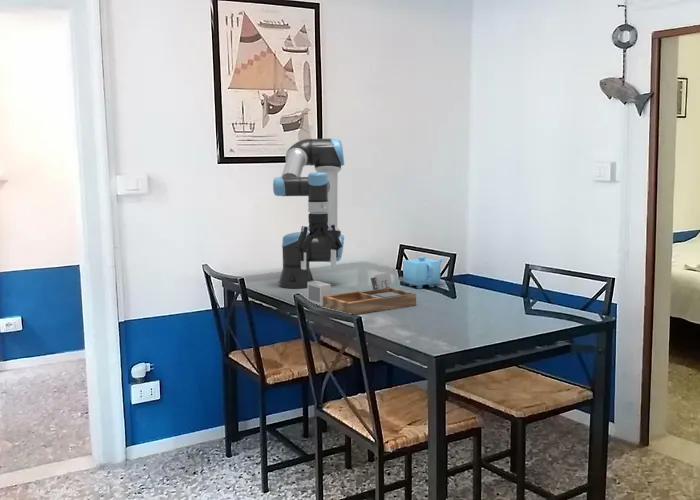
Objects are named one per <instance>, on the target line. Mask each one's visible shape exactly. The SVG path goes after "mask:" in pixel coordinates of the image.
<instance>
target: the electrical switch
mask: <svg viewBox="0 0 700 500" xmlns="http://www.w3.org/2000/svg"><path fill="white" fill-rule="evenodd" d="M370 282H371V287H372V290H377V289H384V288H394V287H393V281H392V278H391V273H390V272H389V271H387V272H382V273H380V274H379V273H378V274H374V277H370Z"/></svg>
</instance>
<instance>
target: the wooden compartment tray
mask: <svg viewBox="0 0 700 500" xmlns="http://www.w3.org/2000/svg"><path fill="white" fill-rule="evenodd" d="M386 292H393V293H397V294H401V296H394V297H387V298H381V297H380V298H379V297H376V296H372V295H374V294H379V293H386ZM412 306H417V293H415V292H410V291H406V290H402V289H399V288H395V287H393V288H384V289H377V290H373V289H371V290H363V291H359V290H356V291H351V292H341V293H335V294H334V293H333V294H331V295H326V296H324V297H323V306H322V308H323V307H326V308H330V309H334V310H337V311H342V312H346V313H351V314H356V315H355V316H357V314H358V315H362V314H363V313H364V314H369V313H368V312H370V313H375V312H374V311H376V312H381V310H383V311H387V310H388V309H389V310H394V309H401V308H407V307H412ZM364 314H363V315H364Z"/></svg>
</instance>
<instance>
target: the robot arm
mask: <svg viewBox="0 0 700 500" xmlns="http://www.w3.org/2000/svg"><path fill="white" fill-rule="evenodd" d="M284 157H285V159H284V160H285V164H284V166H283V167H284V168H283V170H282V173H281V176H276V177H274V179H273V183H272V185H273V186H272V190H273V195H274V196H277V197H308V199H307V206H308V209H307V212H308V218H307V219H308V226H305V225H304V226H303V225H301V229H300V230H301V231H298V232H292V233H287V234H285V235H284V236H283V237H282V245H281V247H282V270H281V273H280V274H281V275H280V277H279V280H278V286H279V287H281V288H284V289H285V288H286V289H307V288H308V285H307V282H312V281H315V280H314V277H313V273H312V271H311V268H310V262H312V263H314V262H315V263H321V262H323V263H326V262H327V263H328V262H329V263H330V267H335V268H336V267H337V262H339V261H340V260H341V259H342V256H343V253H344V252H343V251H344V244H345V236H344V235H343V234H342V233H341V232H342V230H341V229H340V228H338V177H339V176H338V174H339V172H341V171H342V167H343V166H344V165H345V158H344V150H343V144H342V141H341V140H340V139H339V138H305V139H301V140H299V141H297V142H295V143H294V144H292V145H291V146H290V147H289V148H288V150H287V151H286V153H285V156H284ZM305 166H311V167H312V166H314V170H315V171H316V172H309V173H308V175H307V176H302V173H303V168H304V167H305Z"/></svg>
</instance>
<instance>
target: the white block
mask: <svg viewBox="0 0 700 500" xmlns="http://www.w3.org/2000/svg"><path fill="white" fill-rule="evenodd" d="M307 285H308V287H307V301H308V300H309V301H311V302H312V303H311V304H313V303H314V304H313V305H316V304H317V306H319V305H320V306H319V307H323V297H324V296H326V295H332V284H330V283H326V282H323V281H319V280H314V281H312V282H307Z"/></svg>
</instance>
